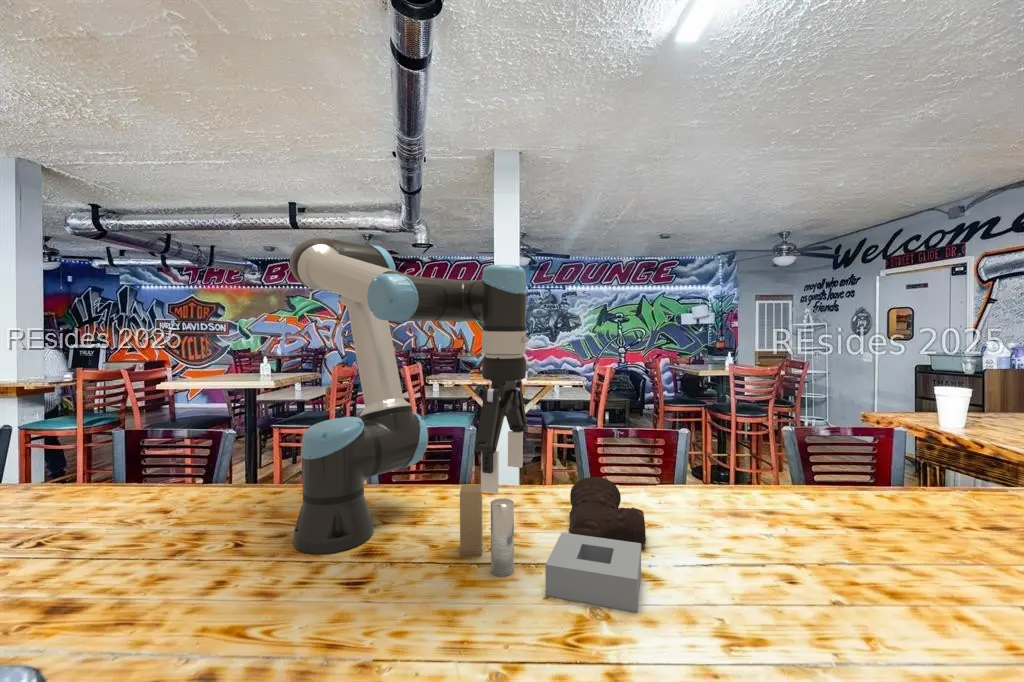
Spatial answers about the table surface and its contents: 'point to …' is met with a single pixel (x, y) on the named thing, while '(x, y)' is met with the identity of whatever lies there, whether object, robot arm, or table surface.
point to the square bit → (471, 520)
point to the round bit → (502, 537)
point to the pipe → (604, 512)
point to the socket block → (595, 571)
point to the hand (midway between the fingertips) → (503, 478)
